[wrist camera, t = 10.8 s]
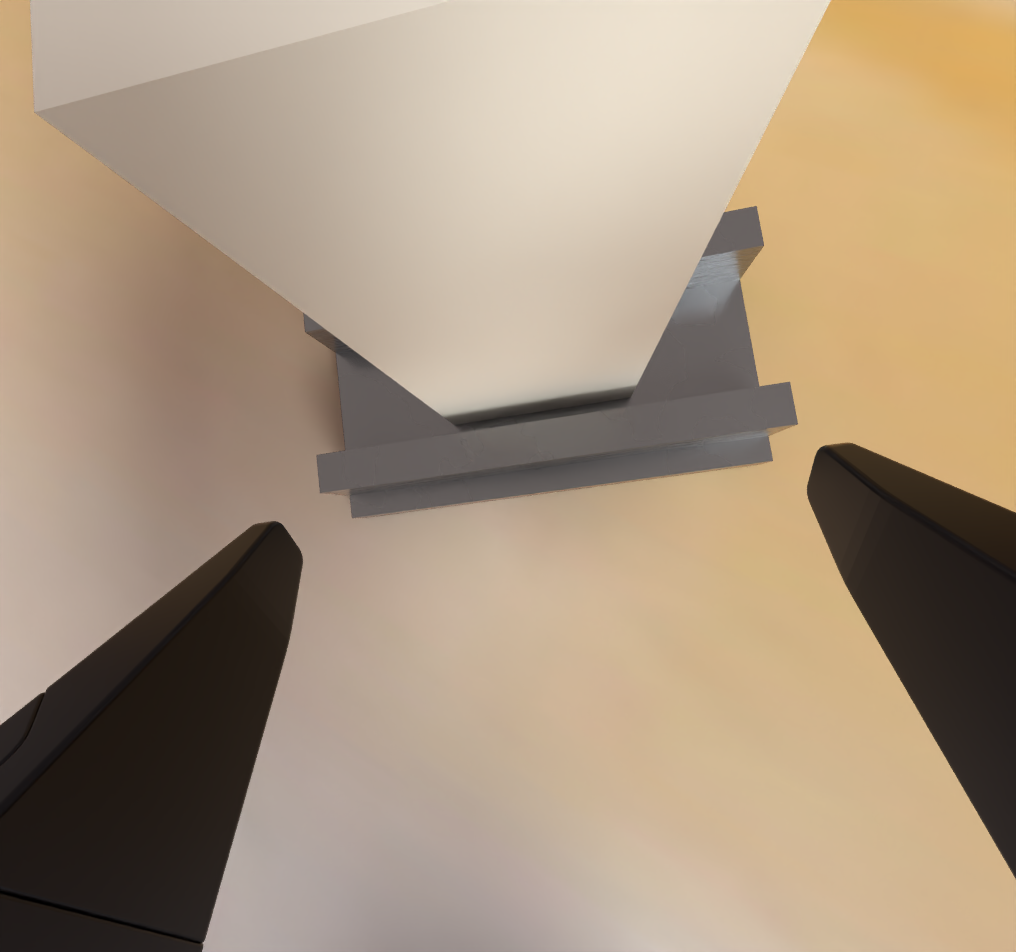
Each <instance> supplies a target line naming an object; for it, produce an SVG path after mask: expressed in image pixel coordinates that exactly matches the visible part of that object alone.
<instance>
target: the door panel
mask: <svg viewBox="0 0 1016 952" xmlns="http://www.w3.org/2000/svg"><path fill="white" fill-rule="evenodd" d="M830 1H831V0H30V11H31V37H32V64H33V90H34V112H35V113H36V114H37V115H39V116H40V117H41V118H43V119H44V120H45V121H47V122H48V123H49V124H51V125H52V126H53V127H55V128H56V129H57V130H59V131H60V132H62V133H63V134H64V135H66V136H67V137H68V138H70V139H71V140H72V141H74V142H75V143H76V144H78V145H79V146H80V147H82V148H83V149H84V150H86V151H87V152H88V153H90V154H91V155H92V156H94V157H95V158H96V159H98V160H99V161H100V162H102V163H103V164H104V165H106V166H107V167H108V168H110V169H111V170H113V171H114V172H115V173H117V174H118V175H119V176H121V177H122V178H123V179H125V180H126V181H127V182H129V183H130V184H131V185H133V186H134V187H135V188H137V189H138V190H139V191H141V192H142V193H143V194H145V195H146V196H147V197H149V198H150V199H151V200H153V201H154V202H155V203H157V204H158V205H159V206H161V207H162V208H164V209H165V210H166V211H168V212H169V213H170V214H172V215H173V216H174V217H176V218H177V219H178V220H180V221H181V222H182V223H184V224H185V225H186V226H188V227H189V228H190V229H192V230H193V231H194V232H196V233H197V234H198V235H200V236H201V237H202V238H204V239H205V240H206V241H208V242H209V243H210V244H212V245H213V246H215V247H216V248H217V249H219V250H220V251H221V252H223V253H224V254H225V255H227V256H228V257H229V258H231V259H232V260H233V261H235V262H236V263H237V264H239V265H240V266H241V267H243V268H244V269H245V270H247V271H248V272H249V273H251V274H252V275H253V276H255V277H256V278H257V279H259V280H260V281H261V282H263V283H264V284H266V285H267V286H268V287H270V288H271V289H272V290H274V291H275V292H276V293H278V294H279V295H280V296H282V297H283V298H284V299H286V300H287V301H288V302H290V303H291V304H292V305H294V306H295V307H296V308H298V309H299V310H300V311H302V312H303V313H304V314H306V315H307V316H308V317H310V318H311V319H312V320H314V321H315V322H317V323H318V324H319V325H321V326H322V327H323V328H325V329H326V330H327V331H329V332H330V333H331V334H333V335H334V336H335V337H337V338H338V339H339V340H341V341H342V342H343V343H345V344H346V345H347V346H349V347H350V348H351V349H353V350H354V351H355V352H357V353H358V354H359V355H361V356H362V357H363V358H365V359H366V360H368V361H369V362H370V363H372V364H373V365H374V366H376V367H377V368H378V369H380V370H381V371H382V372H384V373H385V374H386V375H388V376H389V377H390V378H392V379H393V380H394V381H396V382H397V383H398V384H400V385H401V386H402V387H404V388H405V389H406V390H408V391H409V392H410V393H412V394H413V395H414V396H416V397H417V398H419V399H420V400H421V401H423V402H424V403H425V404H427V405H428V406H429V407H431V408H432V409H433V410H435V411H436V412H437V413H439V414H440V415H441V416H443V417H444V418H445V419H447V420H448V421H449V422H451V423H452V424H453V425H457V424H463V423H470V422H476V421H483V420H489V419H495V418H502V417H508V416H515V415H521V414H527V413H534V412H540V411H547V410H553V409H559V408H566V407H572V406H579V405H585V404H591V403H598V402H604V401H611V400H617V399H623V398H630V397H631V396H632V394H633V392H634V390H635V388H636V386H637V384H638V382H639V380H640V378H641V376H642V374H643V372H644V370H645V368H646V366H647V364H648V362H649V360H650V358H651V356H652V354H653V352H654V350H655V348H656V346H657V344H658V342H659V340H660V338H661V336H662V334H663V332H664V330H665V328H666V326H667V324H668V322H669V320H670V318H671V316H672V314H673V312H674V310H675V308H676V306H677V304H678V302H679V300H680V298H681V296H682V294H683V293H684V291H685V289H686V287H687V285H688V283H689V281H690V279H691V277H692V275H693V273H694V271H695V269H696V267H697V265H698V263H699V261H700V259H701V257H702V255H703V253H704V251H705V249H706V247H707V245H708V243H709V241H710V239H711V237H712V235H713V233H714V231H715V229H716V227H717V225H718V223H719V221H720V219H721V217H722V215H723V213H724V211H725V209H726V207H727V205H728V203H729V201H730V199H731V197H732V195H733V193H734V191H735V189H736V187H737V185H738V183H739V181H740V179H741V177H742V175H743V173H744V171H745V169H746V167H747V165H748V163H749V161H750V159H751V158H752V156H753V154H754V152H755V150H756V148H757V146H758V144H759V142H760V140H761V138H762V136H763V134H764V132H765V130H766V128H767V126H768V124H769V122H770V120H771V118H772V116H773V114H774V112H775V110H776V108H777V106H778V104H779V102H780V100H781V98H782V96H783V94H784V92H785V90H786V88H787V86H788V84H789V82H790V80H791V78H792V76H793V74H794V72H795V70H796V68H797V66H798V64H799V62H800V60H801V58H802V56H803V54H804V52H805V50H806V48H807V46H808V44H809V42H810V40H811V38H812V36H813V34H814V32H815V30H816V28H817V26H818V24H819V23H820V21H821V19H822V17H823V15H824V13H825V11H826V9H827V7H828V5H829V3H830Z"/></svg>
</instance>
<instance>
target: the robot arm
mask: <svg viewBox="0 0 1016 952" xmlns="http://www.w3.org/2000/svg"><path fill="white" fill-rule="evenodd" d="M807 495H808V499H809V502H810V505H811V507H812V509H813V512H814V514H815V516H816V519H817V521H818V523H819V525H820V528H821V530H822V532H823V535H824V537H825V539H826V542H827V544H828V546H829V549H830V551H831V553H832V556H833V558H834V560H835V563H836V565H837V567H838V570H839V572H840V574H841V576H842V578H843V580H844V582H845V584H846V586H847V588H848V590H849V592H850V594H851V595H852V597H853V599H854V601H855V602H856V604H857V606H858V608H859V609H860V611H861V613H862V615H863V616H864V618H865V620H866V621H867V623H868V625H869V627H870V628H871V630H872V632H873V634H874V635H875V637H876V639H877V640H878V642H879V644H880V646H881V647H882V649H883V651H884V653H885V654H886V656H887V658H888V659H889V661H890V663H891V665H892V666H893V668H894V670H895V671H896V673H897V675H898V677H899V678H900V680H901V682H902V684H903V685H904V687H905V689H906V690H907V692H908V694H909V696H910V697H911V699H912V701H913V703H914V704H915V706H916V708H917V709H918V711H919V713H920V715H921V716H922V718H923V720H924V722H925V723H926V725H927V727H928V728H929V730H930V732H931V734H932V735H933V737H934V739H935V741H936V742H937V744H938V746H939V747H940V749H941V751H942V753H943V754H944V756H945V758H946V759H947V761H948V763H949V765H950V766H951V768H952V770H953V772H954V773H955V775H956V777H957V778H958V780H959V782H960V784H961V785H962V787H963V789H964V791H965V792H966V794H967V796H968V797H969V799H970V801H971V803H972V804H973V806H974V808H975V810H976V811H977V813H978V815H979V816H980V818H981V820H982V822H983V823H984V825H985V827H986V828H987V830H988V832H989V834H990V835H991V837H992V839H993V841H994V842H995V844H996V846H997V847H998V849H999V851H1000V853H1001V854H1002V856H1003V858H1004V860H1005V861H1006V863H1007V865H1008V866H1009V868H1010V870H1011V872H1012V873H1013V875H1014V877H1015V879H1016V513H1015V512H1013V511H1011V510H1008V509H1006V508H1004V507H1001V506H999V505H996V504H994V503H992V502H989V501H987V500H985V499H982V498H980V497H978V496H975V495H973V494H971V493H968V492H966V491H964V490H961V489H959V488H957V487H954V486H952V485H950V484H947V483H945V482H942V481H940V480H938V479H935V478H933V477H931V476H928V475H926V474H924V473H921V472H919V471H917V470H914V469H912V468H910V467H907V466H905V465H903V464H900V463H898V462H896V461H893V460H891V459H889V458H886V457H884V456H881V455H879V454H877V453H874V452H872V451H870V450H867V449H865V448H863V447H860V446H858V445H856V444H853V443H840V444H833V445H825V446H823V447H821V448H820V449H819V450H818V451H817V453H816V456H815V459H814V463H813V466H812V470H811V474H810V477H809V481H808V485H807ZM302 566H303V558H302V553H301V551H300V549H299V548H298V546H297V545H296V543H295V542H294V540H293V539H292V537H291V536H290V534H289V533H288V532H287V530H286V529H285V527H284V526H283V525H282V524H281V523H279V522H276V521H271V522H264V523H258V524H255V525H253V526H251V527H250V528H249V529H247V530H246V531H245V532H244V533H242V534H241V535H240V536H239V537H237V538H236V539H235V540H233V541H232V542H231V543H230V544H228V545H227V546H226V547H225V548H223V549H222V550H221V551H220V552H218V553H217V554H216V555H215V556H213V557H212V558H211V559H210V560H208V561H207V562H206V563H205V564H203V565H202V566H201V567H199V568H198V569H197V570H196V571H194V572H193V573H192V574H191V575H189V576H188V577H187V578H186V579H184V580H183V581H182V582H181V583H179V584H178V585H177V586H176V587H174V588H173V589H172V590H170V591H169V592H168V593H167V594H165V595H164V596H163V597H162V598H160V599H159V600H158V601H157V602H155V603H154V604H153V605H152V606H150V607H149V608H148V609H147V610H145V611H144V612H143V613H142V614H140V615H139V616H138V617H136V618H135V619H134V620H133V621H131V622H130V623H129V624H128V625H126V626H125V627H124V628H123V629H121V630H120V631H119V632H118V633H116V634H115V635H114V636H113V637H111V638H110V639H109V640H107V641H106V642H105V643H104V644H102V645H101V646H100V647H99V648H97V649H96V650H95V651H94V652H92V653H91V654H90V655H89V656H87V657H86V658H85V659H84V660H82V661H81V662H80V663H78V664H77V665H76V666H75V667H73V668H72V669H71V670H70V671H68V672H67V673H66V674H65V675H63V676H62V677H61V678H60V679H58V680H57V681H56V682H55V683H53V684H52V685H51V686H50V687H48V688H47V690H46V692H45V693H41V694H39V695H38V696H37V697H35V698H34V699H33V700H32V701H30V702H29V703H28V704H27V705H25V706H24V707H23V708H22V709H20V710H19V711H18V712H17V713H15V714H14V715H13V716H12V717H10V718H9V719H8V720H6V721H5V722H4V723H2V724H1V725H0V952H202V950H203V942H204V940H205V938H206V934H207V931H208V927H209V924H210V920H211V917H212V913H213V909H214V906H215V902H216V899H217V895H218V892H219V888H220V885H221V881H222V878H223V874H224V871H225V867H226V864H227V860H228V857H229V853H230V849H231V846H232V842H233V839H234V835H235V832H236V828H237V825H238V821H239V818H240V814H241V811H242V807H243V804H244V800H245V797H246V793H247V789H248V786H249V782H250V779H251V775H252V772H253V768H254V765H255V761H256V758H257V754H258V751H259V747H260V744H261V740H262V737H263V733H264V729H265V726H266V722H267V719H268V715H269V712H270V708H271V705H272V701H273V698H274V694H275V691H276V687H277V684H278V680H279V677H280V673H281V669H282V666H283V662H284V659H285V655H286V651H287V648H288V644H289V639H290V634H291V630H292V624H293V618H294V612H295V606H296V601H297V595H298V589H299V583H300V577H301V571H302Z"/></svg>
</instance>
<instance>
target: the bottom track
mask: <svg viewBox="0 0 1016 952" xmlns="http://www.w3.org/2000/svg"><path fill="white" fill-rule="evenodd" d="M763 246H764V243H763V237H762V232H761V227H760V222H759V216H758V211H757V206H754V207H749V208H744V209H739V210H734V211H729V212H724V213H723V215H722V217H721V219H720V221H719V223H718V225H717V227H716V229H715V231H714V233H713V235H712V237H711V239H710V241H709V243H708V245H707V247H706V249H705V251H704V253H703V255H702V257H701V259H700V261H699V263H698V265H697V267H696V269H695V271H694V273H693V275H692V277H691V279H690V281H689V283H688V285H687V287H686V289H685V291H684V293H683V294H682V296H681V298H680V300H679V302H678V304H677V306H676V308H675V310H674V312H673V314H672V316H671V318H670V320H669V322H668V324H667V326H666V328H665V330H664V332H663V334H662V336H661V338H660V340H659V342H658V344H657V346H656V348H655V350H654V352H653V354H652V356H651V358H650V360H649V362H648V364H647V366H646V368H645V370H644V372H643V374H642V376H641V378H640V380H639V382H638V384H637V386H636V388H635V390H634V392H633V394H632V396H631V397H630V398H623V399H617V400H611V401H604V402H598V403H591V404H585V405H579V406H572V407H566V408H559V409H553V410H547V411H540V412H534V413H527V414H521V415H515V416H508V417H502V418H495V419H489V420H483V421H476V422H470V423H463V424H457V425H453V424H452V423H451V422H449V421H448V420H447V419H445V418H444V417H443V416H441V415H440V414H439V413H437V412H436V411H435V410H433V409H432V408H431V407H429V406H428V405H427V404H425V403H424V402H423V401H421V400H420V399H419V398H417V397H416V396H414V395H413V394H412V393H410V392H409V391H408V390H406V389H405V388H404V387H402V386H401V385H400V384H398V383H397V382H396V381H394V380H393V379H392V378H390V377H389V376H388V375H386V374H385V373H384V372H382V371H381V370H380V369H378V368H377V367H376V366H374V365H373V364H372V363H370V362H369V361H368V360H366V359H365V358H363V357H362V356H361V355H359V354H358V353H357V352H355V351H354V350H353V349H351V348H350V347H349V346H347V345H346V344H345V343H343V342H342V341H341V340H339V339H338V338H337V337H335V336H334V335H333V334H331V333H330V332H329V331H327V330H326V329H325V328H323V327H322V326H321V325H319V324H318V323H317V322H315V321H314V320H312V319H311V318H310V317H308V316H307V315H306V314H304V313H303V314H304V324H305V332H306V333H307V334H309V335H310V336H312V337H313V338H315V339H316V340H318V341H319V342H321V343H322V344H324V345H325V346H327V347H328V348H330V349H331V350H332V351H334V352H335V353H336V360H337V370H338V380H339V391H340V401H341V411H342V421H343V432H344V442H345V451H339V452H333V453H326V454H320V455H317V466H318V476H319V487H320V493H325V494H337V495H350V503H351V513H352V518H367V517H375V516H382V515H390V514H397V513H404V512H412V511H419V510H426V509H434V508H441V507H448V506H456V505H463V504H471V503H478V502H485V501H493V500H500V499H507V498H515V497H522V496H529V495H537V494H544V493H552V492H559V491H566V490H574V489H581V488H588V487H596V486H603V485H610V484H618V483H625V482H633V481H640V480H647V479H655V478H662V477H669V476H677V475H684V474H691V473H699V472H706V471H714V470H721V469H728V468H736V467H743V466H750V465H758V464H763V463H767V462H771V461H773V459H772V453H771V448H770V442H769V437H768V436H769V435H772V434H774V433H777V432H780V431H782V430H785V429H787V428H790V427H792V426H795V425H797V424H798V422H797V417H796V412H795V406H794V401H793V396H792V390H791V385H790V382H786V383H779V384H773V385H766V386H760V387H759V382H758V377H757V371H756V366H755V360H754V355H753V349H752V344H751V339H750V333H749V328H748V322H747V317H746V311H745V306H744V300H743V295H742V289H741V284H740V278H741V277H742V276H743V274H744V273H745V271H746V270H747V269H748V267H749V266H750V264H751V263H752V262H753V260H754V259H755V257H756V256H757V255H758V253H759V252H760V250H761V249H762V248H763Z"/></svg>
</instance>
